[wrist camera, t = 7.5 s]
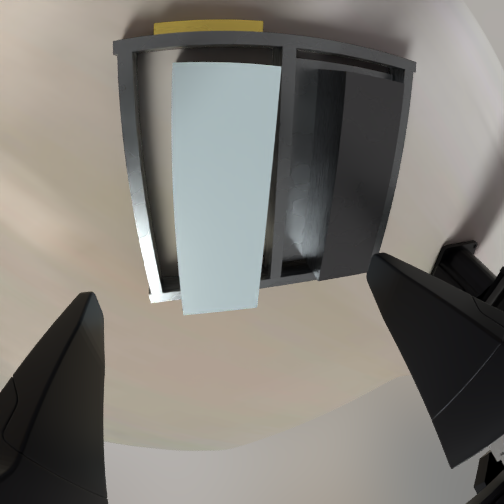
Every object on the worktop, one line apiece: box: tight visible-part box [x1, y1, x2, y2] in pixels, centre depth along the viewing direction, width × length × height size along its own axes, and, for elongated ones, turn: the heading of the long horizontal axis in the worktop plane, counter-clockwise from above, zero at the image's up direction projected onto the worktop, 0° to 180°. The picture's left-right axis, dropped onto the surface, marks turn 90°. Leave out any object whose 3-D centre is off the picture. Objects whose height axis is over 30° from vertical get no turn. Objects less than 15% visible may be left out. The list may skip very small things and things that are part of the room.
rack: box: [113, 19, 416, 303], centre depth 15 cm, size 16×16×4 cm
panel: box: [172, 62, 281, 315], centre depth 14 cm, size 4×12×5 cm, turn 174°
